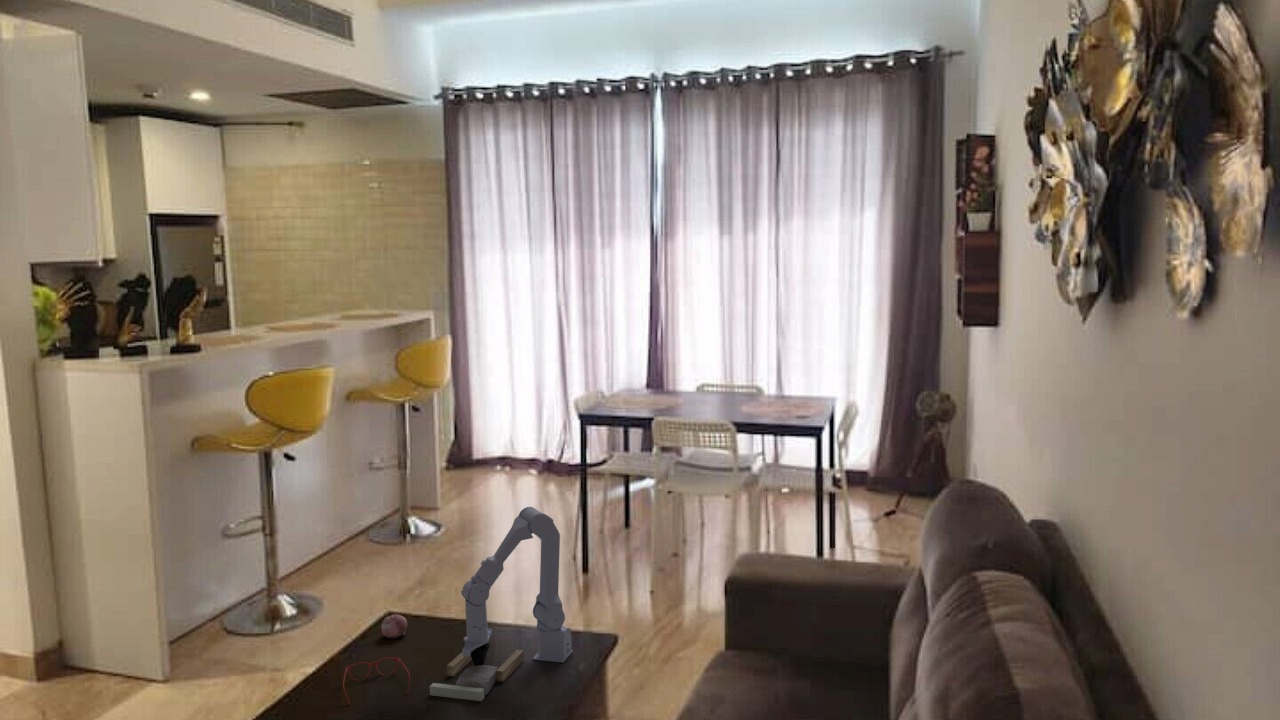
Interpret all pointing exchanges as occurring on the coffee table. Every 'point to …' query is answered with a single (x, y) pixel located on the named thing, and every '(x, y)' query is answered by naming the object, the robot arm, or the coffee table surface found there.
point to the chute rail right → (509, 665)
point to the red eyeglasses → (376, 668)
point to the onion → (394, 626)
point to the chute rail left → (457, 664)
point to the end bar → (457, 692)
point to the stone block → (478, 677)
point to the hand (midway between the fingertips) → (479, 670)
